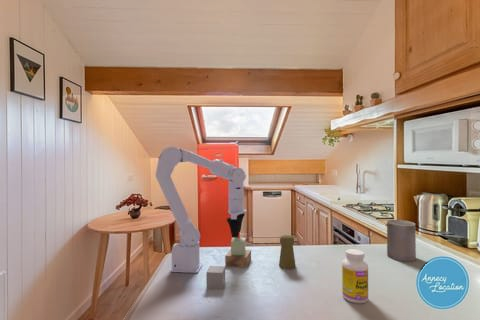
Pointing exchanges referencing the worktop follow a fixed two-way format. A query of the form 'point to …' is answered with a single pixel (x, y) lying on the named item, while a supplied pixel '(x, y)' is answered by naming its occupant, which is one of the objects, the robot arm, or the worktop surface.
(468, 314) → the worktop surface
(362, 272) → the supplement bottle
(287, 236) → the cork
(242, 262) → the walnut block
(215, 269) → the grey cube
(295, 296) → the worktop surface
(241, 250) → the green cube
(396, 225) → the pillar candle
